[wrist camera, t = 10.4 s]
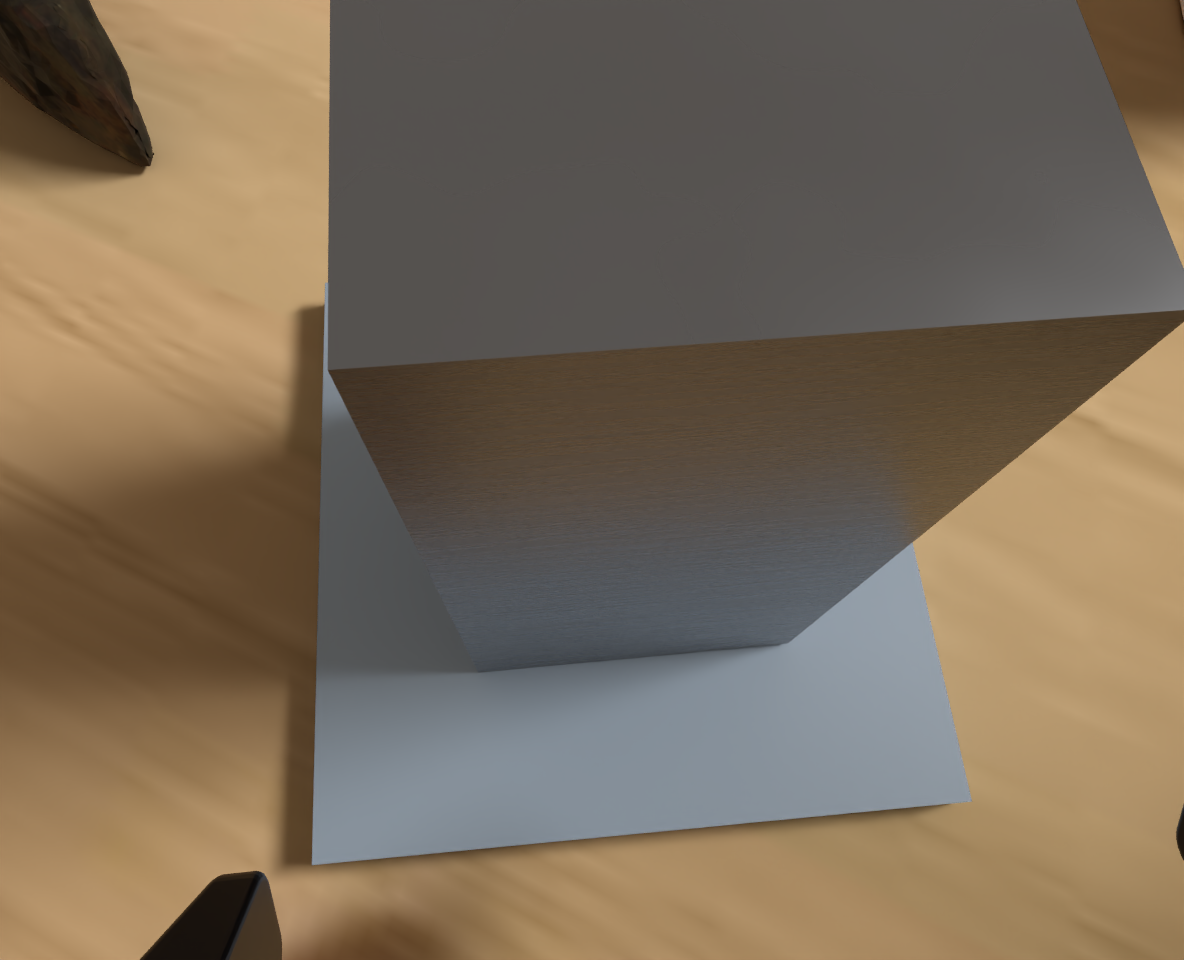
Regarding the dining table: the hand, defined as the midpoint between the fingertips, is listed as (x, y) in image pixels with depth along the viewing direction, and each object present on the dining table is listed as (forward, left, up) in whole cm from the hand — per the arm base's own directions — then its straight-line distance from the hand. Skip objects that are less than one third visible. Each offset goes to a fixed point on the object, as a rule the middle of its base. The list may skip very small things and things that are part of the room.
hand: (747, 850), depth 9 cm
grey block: (+6, -1, -8) cm, 10 cm away
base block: (+6, -1, -10) cm, 11 cm away
